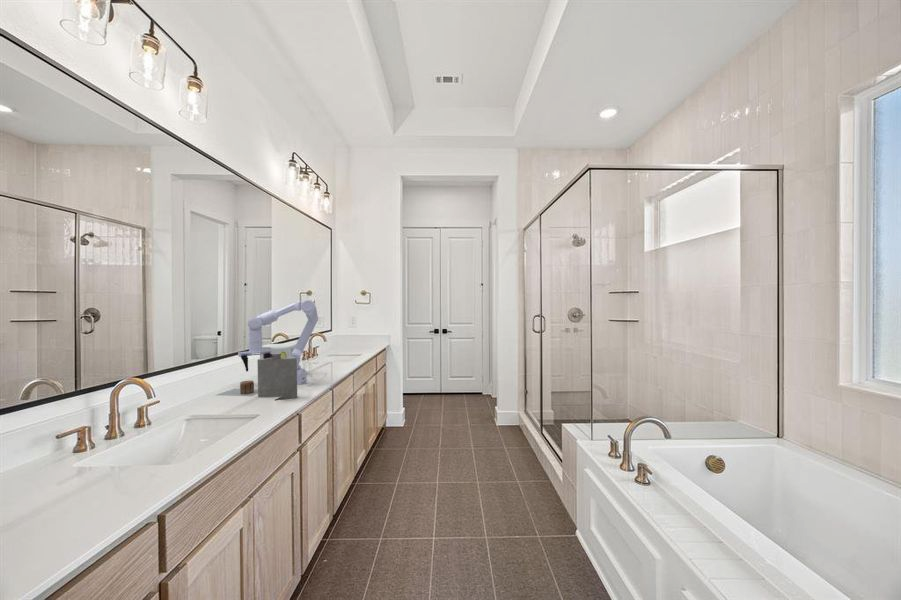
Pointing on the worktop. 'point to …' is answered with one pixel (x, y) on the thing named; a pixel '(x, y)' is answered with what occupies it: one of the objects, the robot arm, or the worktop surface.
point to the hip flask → (277, 377)
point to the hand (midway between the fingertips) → (256, 370)
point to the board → (237, 393)
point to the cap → (246, 387)
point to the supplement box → (279, 349)
